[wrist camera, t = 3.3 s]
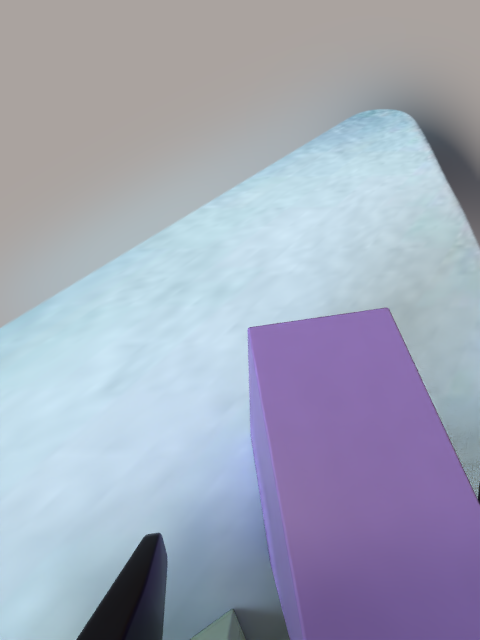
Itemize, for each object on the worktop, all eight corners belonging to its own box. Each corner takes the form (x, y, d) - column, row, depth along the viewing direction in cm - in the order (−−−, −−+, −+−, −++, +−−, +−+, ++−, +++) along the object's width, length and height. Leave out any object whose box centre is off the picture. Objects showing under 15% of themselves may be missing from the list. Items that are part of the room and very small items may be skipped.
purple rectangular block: (331, 553, 15) (601, 761, 3) (270, 563, 14) (334, 819, 3) (301, 425, 18) (389, 306, 6) (250, 433, 17) (246, 326, 6)
